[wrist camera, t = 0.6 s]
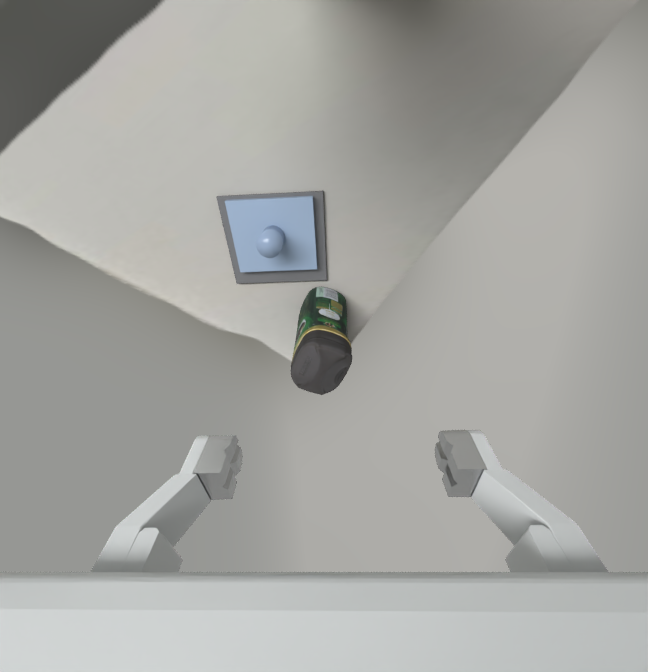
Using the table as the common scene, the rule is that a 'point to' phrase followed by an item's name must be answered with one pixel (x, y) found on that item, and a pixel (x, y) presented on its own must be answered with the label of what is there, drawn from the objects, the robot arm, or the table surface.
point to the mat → (288, 274)
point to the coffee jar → (321, 342)
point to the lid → (273, 233)
